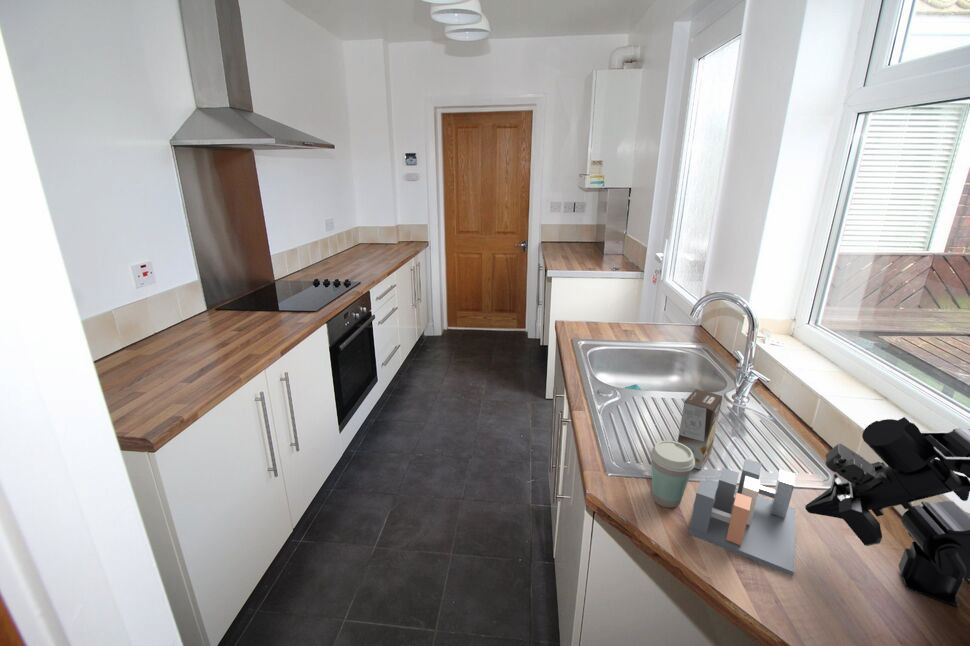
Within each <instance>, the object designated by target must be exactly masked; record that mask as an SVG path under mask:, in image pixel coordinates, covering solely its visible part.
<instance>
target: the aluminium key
mask: <svg viewBox="0 0 970 646" xmlns="http://www.w3.org/2000/svg"><path fill="white" fill-rule="evenodd" d="M795 477H796V475H795V473H792V472H788V471H786V470H781V469H779V472H778V476H777V480H776V483H775V487H774V489H773V488H770V487H767V486H763V485H761V484H760V485H759V492H758V495H759V494H760V495H762V496H766V497H768V498H771V500H772V503H771V514H774V515H777V516H779V517H782V518H785V517H786V514H787V510H788V507H789V506H790V504H791V503H790V502H791V499H792V495H793V491H794V488H795Z"/></svg>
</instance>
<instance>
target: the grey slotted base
mask: <svg viewBox="0 0 970 646" xmlns="http://www.w3.org/2000/svg"><path fill="white" fill-rule="evenodd" d="M742 466H743V467H742V471H741V475H740V479H739V474H740V472H738V471H735V470H733V469H732V470H731V469H729V468H725V467H721V472H720V475H719V480H718V481H715V480H713V479H711V478H707V477H705V479H704V480H703V479H700V481H699V484H698V485H697V486H698V487H697V489H696V492H695V499H694V504H693V508H692V514H691V519H690V520H691V521H690V525H689V530H688V535H689V534H690V536H692V537H694V538H697V539H699V540H702V541H704V542H707V543H709V544H712V545H714V546H717V547H719V548H722V549H723V550H726V551H729V552H731V553H734V554H737V555H739V556H741V557H744V558H746V559H749V560H752V562H756V563H759V564H760V565H764V566H766V567H767V568H768V567H769V568H770V569H773V570H776V571H778V572H780V573H783V574H786V575H788V576H790V577H794V574H795V557H796V555H795V552H796V551H795V549H796V518H797V517H796V512H797V508H795V507H793V506H791V505H789V507H788V510H787V514H786V517H785V518H782V517H779V516H777V515H774V514H771V503H772V499H769V498H767V497H764V496H760V495H758V496H757V500H756V504H755V508H754V512H753V516H752V520H751V525H747V524H746V528H745V532H744V536H743V540H742V544H741V545H738V544H736V543H733V542H731V541H728V540H726V538H727V533H728V528H729V524H730V523H727V522H724V521H722V520H719V519H716V518H714V517H711V512H712V508H715V509H718V510H721V511H723V512H726V513H729V514H732V510H733V506H734V503H733V498H734V494H735V495H736V493H739V494H742V489H743V485H744V480H745V476H748V477H751V478H754V479H758V480H760V477H761V468H762V462H758V461H755V460H753V459H748V458H744V460H743V465H742ZM738 480H739V484H738ZM737 484H738V488H737ZM716 491H717V493H716ZM715 496H716V497H715Z"/></svg>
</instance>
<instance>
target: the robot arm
mask: <svg viewBox="0 0 970 646" xmlns="http://www.w3.org/2000/svg"><path fill="white" fill-rule="evenodd" d="M861 435H862V436H861V437H862V440H863V441H864V442H865V444H866V445H867V446H868V447H869V448H870V449H871V450H872V451H873V452H874V453H875V454H876V455H877V456H878V457H879V458H880V459H881V460H882V462H881V461H876V462H873V463H871V462H869V461H868V460H866V459H865V458H864V457H862V456H861V455H860V454H858V453H856V452H855V451H853V450H852V449H850V448H848V447H847V446H846V445H844V444H842V443H837V444H836V445H835V446H834V447H832V449H830V450H829V451H828V452H826V453H825V456H824V457H825V459H826V461H825V463H824V464H825V466H826V467H827V468H828V469H829V470H831V471H832V472H833V473H834V474H833V477H832V481H831V485H830V487H829V488H828V489H826V490H825V491H824V492H823V493H822V494H820V495H818V496H817V497H816V498H814V499H813V500H811V501H810V502H809V503H807V504H805V507H804V508H805V511H806V512H808V513H809V514H814V515H820V516H826V517H829V518H830V517H831V518H835V519H841V520H843V521H844V522H845V523H846V524H847V526H848V527H849V529H850V530H851V531H853V533H854V534H855V536H857V538H858V539H859V540H860V542H862V544H863V545H864V546H865V547H870V546H875V545H879V544H881V542H882V538H883V533H882V529H881V528H882V527H881V523H880V522H879V521H878V519H877V518H876V517H882V516H884V511H883V510H884V509H889V508H893V507H896V506H902V507H903V509H904V510H906V511H905V512H904V513H903V514H902V516H901V521H900V522H901V523H902V526H903V527H904V529H905V530H906V531H907V535H908V536H909V537H910V538H911V539H912V540H913V541H912V543H911V545H910V547H909V548H907V547H906V548H905V549H904V552H903V553H902V555H901V559H900V560H899V564H898V569H899V573H900V576H901V577H902V578H903V582H904V583H903V584H904V586H905V588H906V589H908V590H910V591H913V592H916V593H918V594H921V595H924V596H926V597H928V598H931V599H934V600H937V601H940V602H942V603H945V604H947V605H950V606H952V607H956V608H958V607H959V606H960V601H959V600H958V599H959V598H958V597H957V596H958V594H959V592H960V590H961V587H962V585H963V583H964V581H965V580H966V579H967V580H970V513H969V512H966V511H964V510H962V509H961V508H960V507H959V506H958V505H957V504H956V503H955V502H954V501H951V500H950V501H949V500H944V501H936V502H927V501H921V504H918V505H912V502H916V501H920V500H924V499H929V498H932V497H935V496H940V495H944V494H948V493H952V492H953V493H954V494H955V495H956V496H957V497H958V498H959V499H960V500H961V501H963V502H967V501H968V499H969V496H970V428H967V427H966V428H965V427H964V428H962V427H959V428H954V429H952V431H951V430H940V431H939V430H937V431H933V430H929V431H928V430H927V431H925V430H922V431H921V430H920V429H919V427H918V426H917V425H916V424H915V423H914V422H913V421H912V420H910V418H908V417H907V416H903V417H902V418H899V419H895V418H894V419H893V418H889V419H888V418H887V419H882V420H881V419H880V420H875V421H873V422H871V423H870V424H869V425H867V426H866V427H865V429H864V430H863V431H862V434H861ZM836 473H837V474H836ZM961 474H963V475H961ZM838 475H839V476H838ZM873 514H874V515H875V516H876V517H875V516H874V515H873Z"/></svg>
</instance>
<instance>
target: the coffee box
mask: <svg viewBox="0 0 970 646" xmlns="http://www.w3.org/2000/svg"><path fill="white" fill-rule="evenodd" d="M722 401H723V395H720V394H717V393H714V392H710V391H706V390H701V389H697V388H695V389H694V390H693V391H692V392H691V393H690V395H688V397H687V398H686V399H685V400H684V401H683V402H684V403H683V409H682V415H681V420H680V426H679V431H678V439H677V442H678V443H681V444H683V445H685V446H687V447H688V448H689V449H690V450H691V451H692V452H693V456H694V459H695V466H694V468H695V469H697V470H702V469H703V467H704V466H705V465H706V463H707V461H708V459H709V458H710V456H711V454H712V452H713V446H714V442H715V436H716V431H717V428H718V427H717V426H718V422H719V421H718V420H719V417H720V411H721V405H722ZM694 468H693V469H694Z"/></svg>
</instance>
